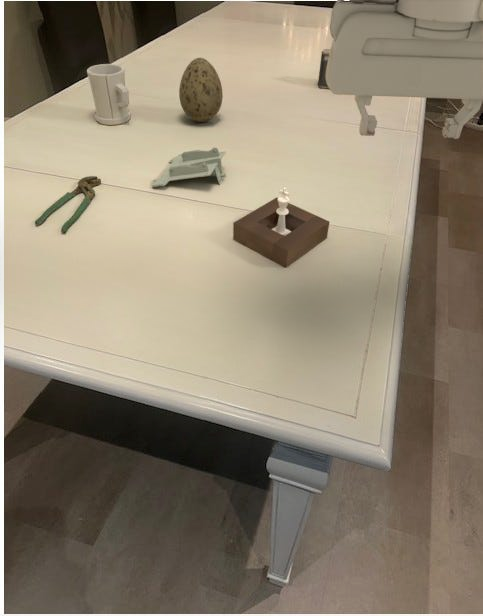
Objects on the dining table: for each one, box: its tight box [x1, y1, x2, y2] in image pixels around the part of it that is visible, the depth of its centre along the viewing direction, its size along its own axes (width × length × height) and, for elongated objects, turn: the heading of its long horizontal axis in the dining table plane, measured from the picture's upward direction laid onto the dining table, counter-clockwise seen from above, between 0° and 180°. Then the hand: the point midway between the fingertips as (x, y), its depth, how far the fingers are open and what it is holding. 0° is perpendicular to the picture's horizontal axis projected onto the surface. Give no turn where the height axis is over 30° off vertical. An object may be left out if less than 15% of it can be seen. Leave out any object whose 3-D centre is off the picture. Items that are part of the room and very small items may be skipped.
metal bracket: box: [151, 146, 227, 188], centre depth 102 cm, size 14×6×15 cm
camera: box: [317, 48, 331, 90], centre depth 142 cm, size 11×6×10 cm, turn 73°
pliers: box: [34, 175, 102, 234], centre depth 93 cm, size 20×6×1 cm, turn 165°
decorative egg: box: [178, 57, 224, 123], centre depth 120 cm, size 11×11×15 cm
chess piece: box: [272, 187, 291, 236], centre depth 83 cm, size 5×5×10 cm
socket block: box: [232, 196, 330, 268], centre depth 85 cm, size 12×12×4 cm
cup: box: [86, 63, 131, 126], centre depth 120 cm, size 10×9×12 cm
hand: (407, 135), depth 55 cm, fingers open, 8 cm apart
